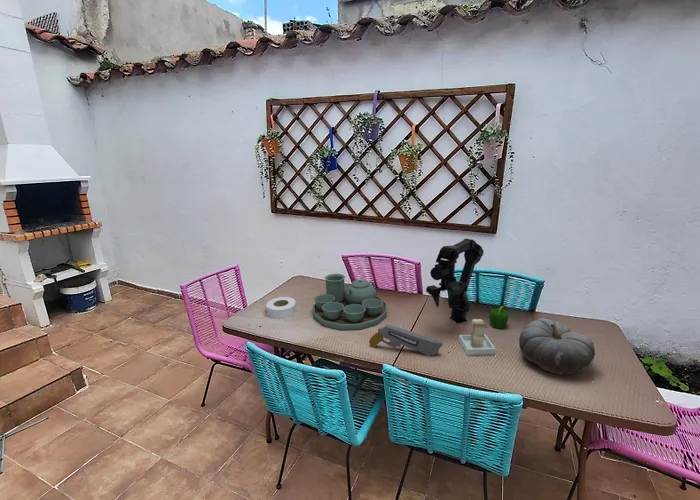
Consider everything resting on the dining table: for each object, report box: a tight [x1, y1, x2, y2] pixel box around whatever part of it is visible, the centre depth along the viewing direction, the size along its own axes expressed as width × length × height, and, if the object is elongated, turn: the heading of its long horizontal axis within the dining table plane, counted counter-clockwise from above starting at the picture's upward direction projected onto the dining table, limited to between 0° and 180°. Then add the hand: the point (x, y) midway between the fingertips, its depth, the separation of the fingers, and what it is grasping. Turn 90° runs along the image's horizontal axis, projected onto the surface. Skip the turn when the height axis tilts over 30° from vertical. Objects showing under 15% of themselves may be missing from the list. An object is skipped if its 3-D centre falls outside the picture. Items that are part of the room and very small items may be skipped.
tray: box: [458, 333, 497, 357], centre depth 147 cm, size 12×12×3 cm
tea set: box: [312, 273, 388, 331], centre depth 181 cm, size 40×40×16 cm
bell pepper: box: [488, 305, 509, 329], centre depth 163 cm, size 8×8×10 cm
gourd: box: [518, 317, 596, 375], centre depth 134 cm, size 25×25×17 cm
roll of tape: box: [266, 296, 297, 320], centre depth 185 cm, size 16×16×6 cm
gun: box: [368, 324, 443, 357], centre depth 146 cm, size 4×28×17 cm, turn 74°
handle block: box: [470, 318, 486, 348], centre depth 146 cm, size 4×4×12 cm
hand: (446, 305), depth 159 cm, fingers open, 9 cm apart
